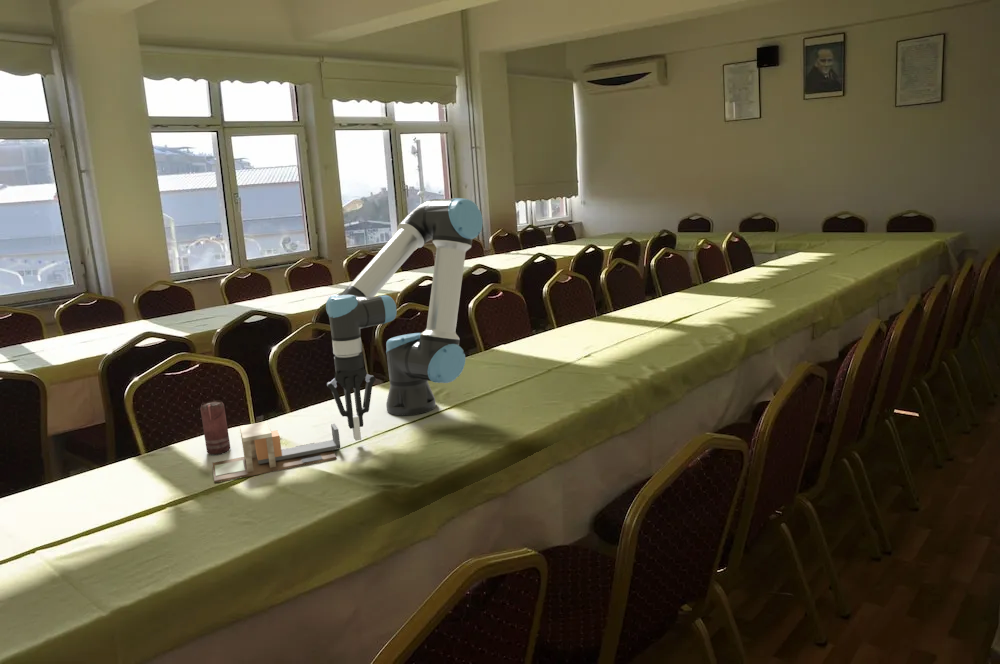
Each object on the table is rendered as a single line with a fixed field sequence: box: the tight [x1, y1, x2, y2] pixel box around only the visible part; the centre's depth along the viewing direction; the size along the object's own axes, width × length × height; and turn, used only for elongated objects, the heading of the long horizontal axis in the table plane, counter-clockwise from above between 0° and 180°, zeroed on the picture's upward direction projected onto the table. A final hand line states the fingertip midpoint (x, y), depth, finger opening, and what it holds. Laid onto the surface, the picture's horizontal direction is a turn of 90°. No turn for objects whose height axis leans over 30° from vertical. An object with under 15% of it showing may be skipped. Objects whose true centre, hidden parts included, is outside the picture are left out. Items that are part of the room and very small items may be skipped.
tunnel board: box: [212, 420, 337, 483], centre depth 203 cm, size 30×14×10 cm, turn 112°
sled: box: [254, 423, 341, 464], centre depth 205 cm, size 21×5×6 cm, turn 112°
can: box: [199, 400, 231, 456], centre depth 213 cm, size 6×6×14 cm
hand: (357, 438), depth 211 cm, fingers closed
